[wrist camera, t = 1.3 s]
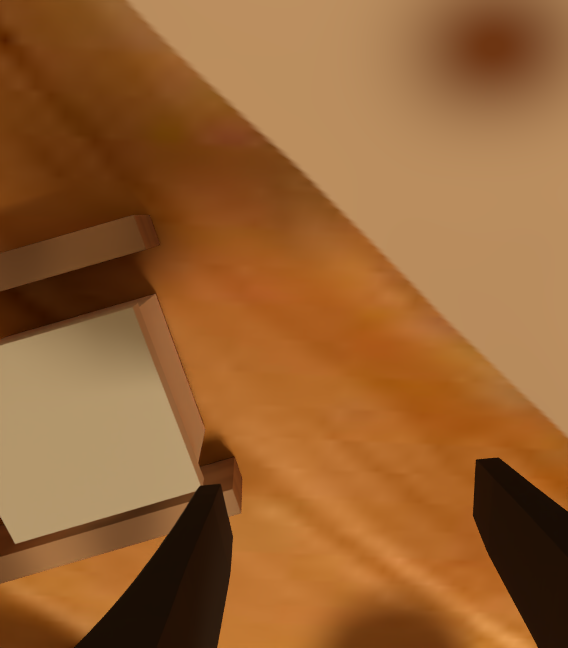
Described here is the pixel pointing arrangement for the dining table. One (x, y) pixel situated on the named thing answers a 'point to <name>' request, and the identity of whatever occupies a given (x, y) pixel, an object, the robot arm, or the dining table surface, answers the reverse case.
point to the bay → (131, 526)
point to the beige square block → (94, 420)
